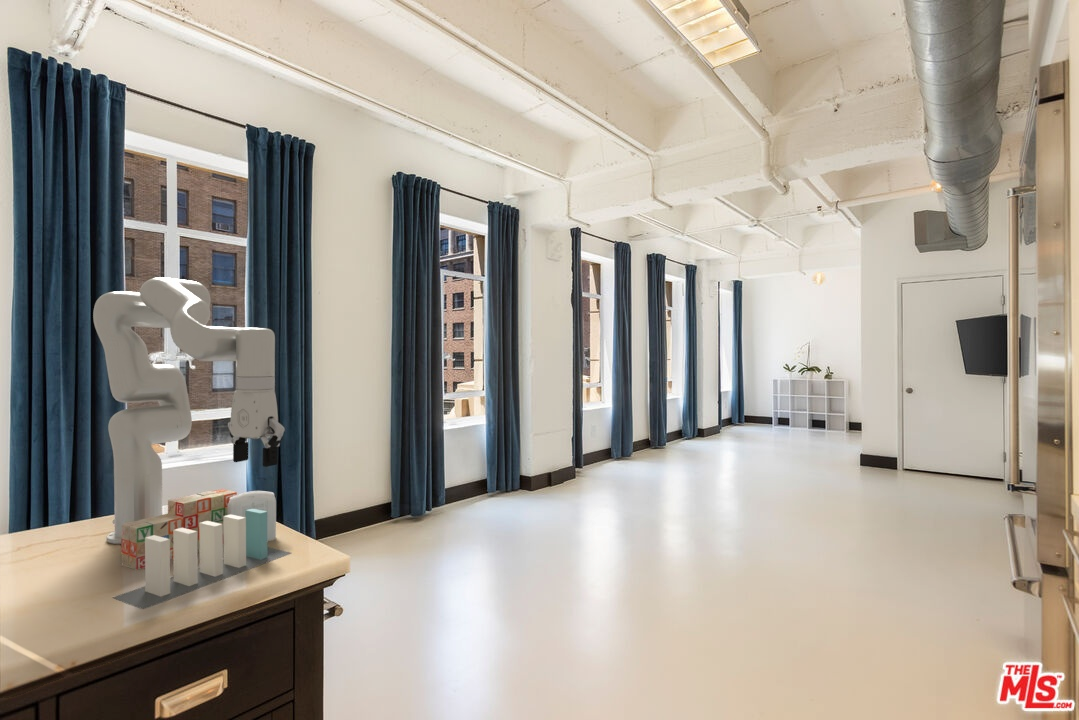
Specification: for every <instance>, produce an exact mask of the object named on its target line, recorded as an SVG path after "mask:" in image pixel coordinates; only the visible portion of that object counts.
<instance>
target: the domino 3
mask: <svg viewBox="0 0 1079 720" xmlns="http://www.w3.org/2000/svg"><path fill="white" fill-rule="evenodd" d="M199 542H200V551H199V567H200V572H201V573H204V574H208V575H211V576H214V577H216V576H218V575H221V574H223V559H224V544H223V524H220V523H215V522H211V521H204V522H201V523H199Z"/></svg>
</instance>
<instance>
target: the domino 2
mask: <svg viewBox="0 0 1079 720" xmlns="http://www.w3.org/2000/svg"><path fill="white" fill-rule="evenodd" d="M173 552H174V559H173V576H174V582H177V583H181V584H184V585H187V586H191V585H194V584H197V583H198V568H199V567H198V564H199V563H198V551H197V531H194V530H190V529H185V528H179V529H175V530H173Z"/></svg>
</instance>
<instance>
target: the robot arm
mask: <svg viewBox="0 0 1079 720" xmlns="http://www.w3.org/2000/svg"><path fill="white" fill-rule="evenodd" d="M211 299H212V298H211V294H210V292H209V290H208V288H207V287H206V286H205V285H203V284H202V283H201V282H197V281H194V280H189V279H188V280H187V279H179V278H174V277H173V278H171V277H163V276H162V277H161V276H159V277H153V278H150V279H148V280H146V281H145V282H143V284H141V287H140V290H139V292H138V291H137V292H136V291H123V290H120V291H118V290H117V291H110V292H105V293H104V294H102V295H101V296H99V297H98V298H97V300H96V301H95V303H94V306H93V307H94V308H93V313H92V314H93V315H92V316H93V317H92V318H93V324H94V328H95V330H96V333H97V336H98V338H99V340H100V342H101V345H102V347H103V350H104V355H105V356H104V357H105V363H106V370H107V376H108V381H109V388H110V392H111V394H112V397H113V398H114V399H115V401H117V402H119V403H126V404H130V403H131V404H132V403H133V404H135V403H136V404H137V403H147V402H158V404H159V405H156V406H155V405H154V406H140V407H131V408H127V409H126V408H125V409H121V410H119V411H118V412H116V413H114V414H113V415H112V416H111V417H110V419H109V421H108V426H107V427H108V428H107V429H108V434H109V439H110V443H111V449H112V454H113V455H112V457H113V477H114V478H113V483H114V484H113V488H114V493H113V494H114V497H113V498H114V499H113V500H114V501H113V502H114V506H113V507H114V510H113V511H114V519H113V520H112V524H114V530H112V532H110V533H108V534H107V535H106V542H107V543H109V544H114V545H115V544H116V545H121V539H122V524H124V523H128V522H133V521H138V520H141V519H146V518H150V517H155V516H159V515H163V462H162V459H161V457H160V456H159V454H158V453H157V452H156V451H155V449H154V448H153V447H152V445H157V444H165V443H171V442H177V441H182V440H183V439H185V438H187V437H188V436H189V435H190V432H191V431H192V425H193V424H192V423H193V422H192V412H191V411H192V410H191V406H190V405H191V404H190V399H189V393H188V387H187V383H186V379H185V376H184V374H183V372H182V371H181V370H180V368H178V367H177V366H175V365H173V364H167V363H155V364H154V363H153V364H152V363H151V362H150V358H149V351H148V348H147V344H146V343H145V341H144V340H143V339H142V337H141V336H140V335H139V334H138V333H136V331H134V330H133V329H132V327H134V328H135V327H138V328H153V329H154V328H157V329H158V328H159V329H169V330H170V336H171V339H172V342H173V343H174V344H175V346H176V347H177V348H178V349H180V350H181V351H182V352H183V353H185V354H186V355H188V356H190V357H191V358H192V359H195V360H198V361H202V362H235V391H234V392H233V397H232V402H231V409H230V410H231V411H230V421H228V423H227V427H228V430H229V436H230V438H231V443H232V444H233V447H232V448H233V449H232V450H233V451H232V456H233V457H232V459H233V463H240V462H246V461H248V460H249V441H247V440H248V439H253V440H258V439H260V440H261V441H262V443H263V445H264V447H263V448H262V467H264V468H267V467H272V466H277V465H278V463H279V460H278V457H279V456H278V455H279V454H278V453H279V449H278V448H279V447H280V445H281V442H282V440H283V435H284V432H285V431H286V430H285V427H284V426H283V425H282V424H281V423H280V422H279V416H278V404H277V397H276V390H275V389H276V388H275V386H276V384H275V383H276V380H275V379H276V378H275V377H276V375H275V372H276V368H275V367H276V364H275V363H276V362H275V361H276V357H275V356H276V336H275V332H274V331H273V330H272V329H270V328H265V327H232V326H231V327H230V326H214V325H207V324H208V322H209V321H210V319H211V308H210V306H211Z"/></svg>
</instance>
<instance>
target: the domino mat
mask: <svg viewBox="0 0 1079 720" xmlns="http://www.w3.org/2000/svg"><path fill="white" fill-rule="evenodd" d="M291 554H292V552H290V551H285V550H281V549H277V548H273V547H269V546H267V558H264V559H262V560H260V559H256V558H252V557H248V556H246V565H245V566H243V567H240V568H237V567H234V566H230V565H226V564H224V558H223V574H221V575H218V576H216V577H214V576H211V575H208V574H204V573H201V572H200V566H199V567H198V583H197V584H194V585H191V586H187V585H184V584H181V583H177V582H174V575H173V576H170V593H169V594H167V595H164V596H158V595H155V594H152V593H149V592H146V591H145V585H144V586H141V587H139V588H136V589H133V590H130V591H127V592H124V593H122V594H121V593H120V594H118V595H116V596H113V597H112V599H114V600H117V601H120V602H123V603H125V604H128V605H130V606H133V607H135V608H138V609H141V610H146V609H147V608H151V607H153V606H156V605H158V604H161V603H164V602H167V601H169V600H172V599H175V598H177V597H179V596H183V595H185V594H188V593H190V592H193V591H196V590H199V589H201V588H203V587H206V586H208V585H212V584H214V583H217V582H219V581H222V580H225V579H227V578H231V577H232V576H233V577H234V576H235V575H238V574H241V573H243V572H247V571H248V570H251V569H254V568H257V567H259V566H262V565H264V564H267V563H270V562H273V561H274V560H278V559H281V558H283V557H286V556H289V555H291Z"/></svg>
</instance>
